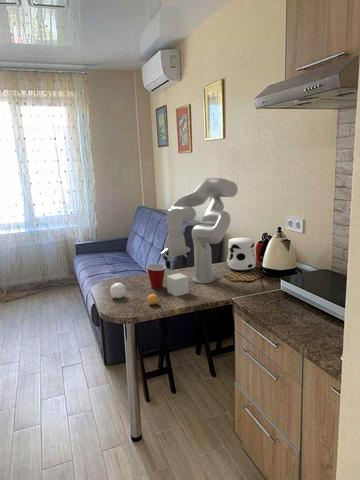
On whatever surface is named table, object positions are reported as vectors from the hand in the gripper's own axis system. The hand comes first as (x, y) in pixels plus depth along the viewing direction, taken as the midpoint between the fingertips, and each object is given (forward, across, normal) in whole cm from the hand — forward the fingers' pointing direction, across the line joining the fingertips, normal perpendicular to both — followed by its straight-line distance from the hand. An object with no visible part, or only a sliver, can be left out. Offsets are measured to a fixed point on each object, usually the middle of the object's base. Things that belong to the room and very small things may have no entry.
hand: (176, 266), depth 186 cm
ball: (+12, +17, +5) cm, 22 cm away
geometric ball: (+15, +26, -14) cm, 33 cm away
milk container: (+13, -54, -9) cm, 56 cm away
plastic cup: (+14, +3, -14) cm, 20 cm away
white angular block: (+14, -1, 0) cm, 14 cm away
